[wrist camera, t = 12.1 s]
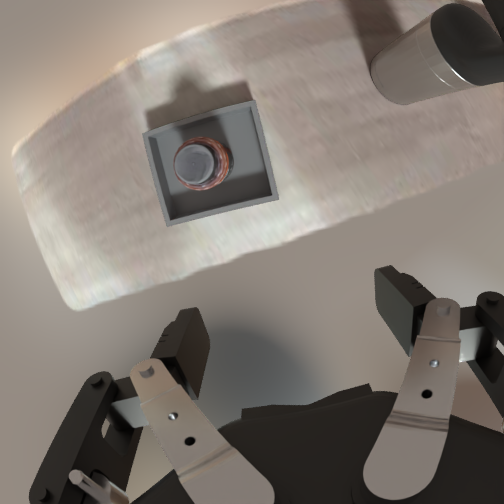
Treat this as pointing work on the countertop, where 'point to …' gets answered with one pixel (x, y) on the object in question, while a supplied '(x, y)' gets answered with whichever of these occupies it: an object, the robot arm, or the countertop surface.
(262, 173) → the bin
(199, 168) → the supplement bottle
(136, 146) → the countertop surface
